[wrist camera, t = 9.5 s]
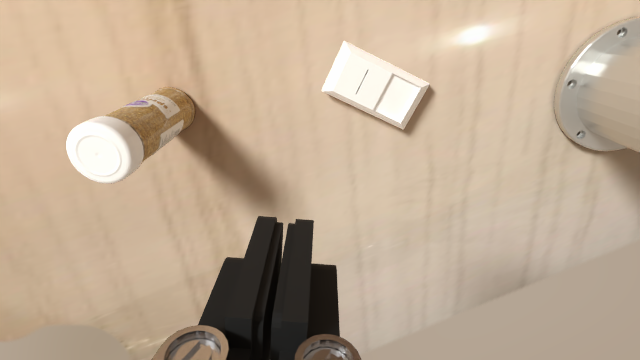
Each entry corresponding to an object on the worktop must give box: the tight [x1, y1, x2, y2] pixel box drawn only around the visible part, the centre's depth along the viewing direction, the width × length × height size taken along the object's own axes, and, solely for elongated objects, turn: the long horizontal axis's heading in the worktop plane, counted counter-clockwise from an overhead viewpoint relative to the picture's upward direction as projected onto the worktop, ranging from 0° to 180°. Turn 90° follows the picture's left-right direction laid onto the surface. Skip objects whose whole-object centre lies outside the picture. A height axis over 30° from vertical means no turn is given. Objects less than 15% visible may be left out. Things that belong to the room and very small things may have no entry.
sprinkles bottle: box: [66, 87, 195, 184], centre depth 30 cm, size 5×5×13 cm
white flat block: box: [322, 41, 430, 130], centre depth 34 cm, size 5×9×3 cm, turn 65°
